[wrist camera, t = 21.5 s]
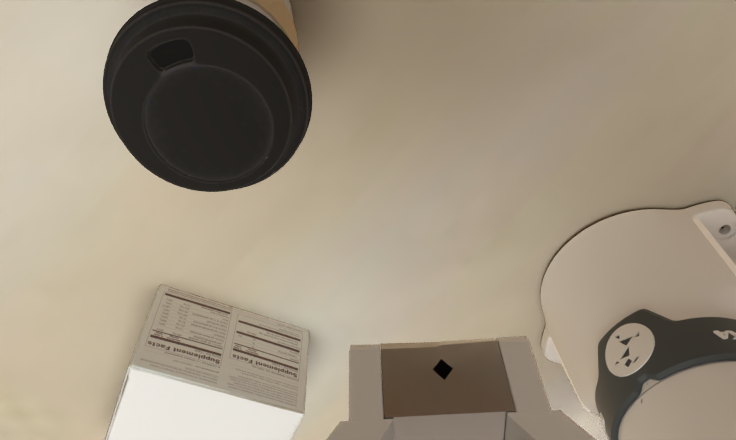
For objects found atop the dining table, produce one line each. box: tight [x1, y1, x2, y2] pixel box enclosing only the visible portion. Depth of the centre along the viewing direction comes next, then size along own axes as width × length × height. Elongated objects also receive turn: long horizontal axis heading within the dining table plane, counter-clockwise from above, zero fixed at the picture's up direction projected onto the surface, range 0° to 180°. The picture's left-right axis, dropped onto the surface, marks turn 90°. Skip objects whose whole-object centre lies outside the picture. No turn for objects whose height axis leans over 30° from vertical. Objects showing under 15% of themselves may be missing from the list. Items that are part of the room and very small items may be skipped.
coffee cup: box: [103, 0, 312, 192], centre depth 36 cm, size 9×9×15 cm
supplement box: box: [105, 285, 309, 440], centre depth 56 cm, size 17×13×9 cm
